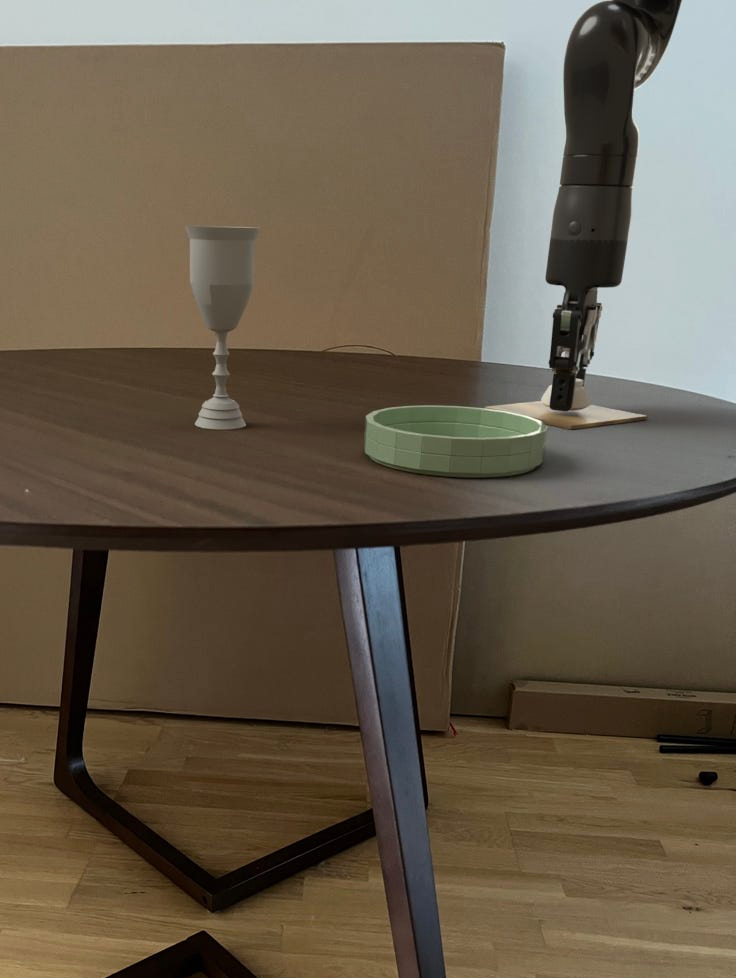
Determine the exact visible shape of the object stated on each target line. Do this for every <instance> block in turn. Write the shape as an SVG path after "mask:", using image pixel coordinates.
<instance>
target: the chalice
mask: <svg viewBox="0 0 736 978" xmlns="http://www.w3.org/2000/svg"><path fill="white" fill-rule="evenodd" d="M184 228H185V230H186V231H185V232H186V233H187V235H188V237H189V283H190V288H191V290H192V294H193V297H194V300H195V303H196V306H197V309H198V311H199V312H200V313H199V314H200V315H201V317H202V319H203V322H204V324H205V326H206V328H207V329H208V330H210V331H212V332H214V333H215V339H216V344H215V347H214V348H215V349H214V351H213V352H212V355H213V356H214V359H215V363H216V365H215V368H214V371H213V372H212V373H211V375H212V376H213V377H214V381H215V385H216V387H215V391H214V394H212V398H209V399H206V400H205V401H204V402H203V403H202V405H201V409H200V411H199V412H198V417H197V419H196V420H195V423H194V425H195V426H196V427H197V428H201V429H208V430H236V429H243V428H245V427H246V426H247V423H246V422H245V420H244V419H243V413H242V411H241V410H240V405H239V404H238V402H237V401H236V400H234V399H231V398H230V397H229V396H230V394H228V393H227V387H226V385H227V379H228V377H229V376H230V375H231V373H230V372H229V371H228V368H227V360H228V357H229V356H230V352H229V350H228V346H227V337H228V333H230V332H232V331H234V330H235V329H237V328H238V325H239V323H240V321H241V319H242V317H243V315H244V312H245V310H246V308H247V306H248V303H249V300H250V297H251V294H252V291H253V287H254V285H255V257H256V255H255V254H256V253H255V251H256V248H255V247H256V239H257V237H258V236H259V235H258V234H259V233H260V230H261V227H255V226H254V227H253V226H251V227H250V226H248V227H247V226H221V225H219V226H218V225H217V226H215V225H184Z"/></svg>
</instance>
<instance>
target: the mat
mask: <svg viewBox="0 0 736 978" xmlns="http://www.w3.org/2000/svg"><path fill="white" fill-rule="evenodd" d="M484 409H491V410H499V411H506V412H511V413H516V414H520V415H525V416H529V417H531V418H534V419H537V420H540V421H542V422H543V423H544V424H545V425H549V426H552V427H553V426H554V427H558V428H562V429H567V430H578V429H584V428H585V429H586V428H594V427H603V426H608V425H615V424H625V423H633V422H640V421H646V420H648V419H649V418H648V417H649V416H648V415H645V414H640V413H635V412H630V411H624V410H619V409H615V408H610V407H604V406H599V405H594V404H590V406H588V407H586V408H584V409H581V410H569V411H557V410H552V409H551V408H550V407H547V406H545V405H544V404H542V403H541V400H536V401H526V402H518V403H507V404H498V405H490V406H489V405H488V406H484Z"/></svg>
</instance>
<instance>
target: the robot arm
mask: <svg viewBox="0 0 736 978" xmlns="http://www.w3.org/2000/svg"><path fill="white" fill-rule="evenodd" d="M682 2H683V0H603V1H600V2H598V3H595V4H594V5H592V6H590V7H589V8H588V9H587V10H585V11H584V12H583V14H581V15H580V17H579V18H578V19H577V21H576V22H575V24H574V26H573V28H572V30H571V31H570V35H569V38H568V41H567V44H566V48H565V53H564V60H563V76H562V77H563V111H564V112H563V113H564V123H565V143H564V148H563V154H562V156H563V157H562V163H561V171H560V181H559V187H558V191H557V192H558V193H557V197H556V200H555V204H554V209H553V215H552V221H551V229H550V238H549V244H548V245H549V246H548V253H547V260H546V261H547V262H546V270H545V279H544V280H545V282H546V283H547V284H548V285H551V286H559V287H561V286H562V287H563V288H564V289H565V291H564V293H563V299H562V304H557V305H556V308H555V309H554V311H553V312H552V327H551V328H552V329H551V340H550V351H549V360H548V368H549V369H551V373H552V374H553V375H552V382H551V383H552V384H551V385H552V390H551V397H550V405H549V406H550V408H551V409H552V410H557V411H569V410H570V409H571V408H572V404H573V397H574V390H575V382H576V378H577V379H581V380H583V382H584V383H583V387H585V381H586V380H585V379H586V373H587V368H589V365H590V364H591V361H592V360H593V357H594V355H595V352H594V351H595V345H596V342H597V337H598V335H597V334H598V329H599V324H600V319H601V316H602V312H603V306H602V304H603V303H602V302H598V289H600V288H601V289H603V288H604V289H607V288H610V289H611V288H616V287H619V286H620V285H621V283H622V281H623V274H624V267H625V261H626V254H627V248H628V242H629V236H630V235H629V234H630V228H631V222H632V215H633V193H634V184H635V177H636V176H635V175H636V170H637V165H638V157H639V149H640V130H639V127H638V125H637V124H636V122H635V120H634V116H633V115H634V114H633V109H634V97H635V90H637V89H639V88H640V87H642V86H643V85H644V84H645V83H647V81H648V80H649V79H650V78H651V77H652V76H653V74H654V73H655V71H656V70H657V68H658V67H659V66H660V63H661V62H662V60H663V58H664V56H665V54H666V52H667V49H668V47H669V44H670V41H671V39H672V36H673V33H674V29H675V26H676V23H677V20H678V15H679V12H680V10H681V9H680V8H681V6H682ZM563 353H564V356H562V354H563Z"/></svg>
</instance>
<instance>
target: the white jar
mask: <svg viewBox="0 0 736 978" xmlns="http://www.w3.org/2000/svg"><path fill="white" fill-rule="evenodd" d="M583 383H584V384H585V381H584V382H583V380H581V379H577V378H576V382H575V390H574V397H573V404H572V408H571V409H570V410H581V409H584V408H586V407H588V406H590V405H591V399H590V396H589V393H588V389H587V388H586V387H585V386H584V387H583ZM551 390H552V384H550V385H549V386H548V387H547V388H546V390H545V392H544V393H543V395H542V396H541V399H540V401H541V403H542V404H544V405H545V406H547V407H550V406H549V405H550V397H551Z"/></svg>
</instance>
